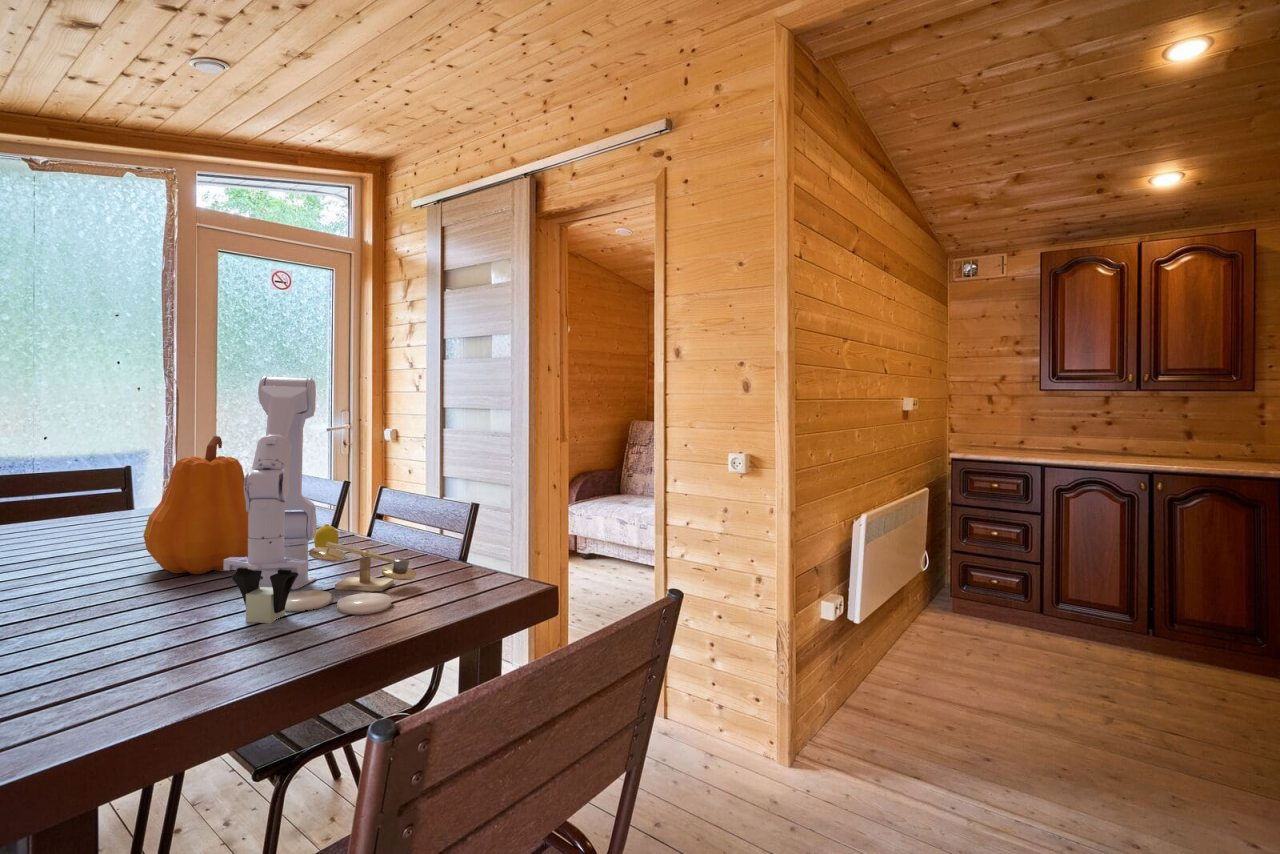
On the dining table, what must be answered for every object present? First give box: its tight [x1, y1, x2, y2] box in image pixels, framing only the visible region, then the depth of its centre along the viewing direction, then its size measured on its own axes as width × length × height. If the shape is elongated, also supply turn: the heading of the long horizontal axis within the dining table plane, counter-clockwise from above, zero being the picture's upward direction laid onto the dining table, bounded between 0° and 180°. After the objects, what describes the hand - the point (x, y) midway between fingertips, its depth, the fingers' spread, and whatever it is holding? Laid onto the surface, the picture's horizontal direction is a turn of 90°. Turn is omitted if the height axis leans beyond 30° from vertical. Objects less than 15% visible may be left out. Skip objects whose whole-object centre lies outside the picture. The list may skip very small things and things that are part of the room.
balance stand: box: [334, 556, 395, 592], centre depth 141 cm, size 10×6×6 cm, turn 88°
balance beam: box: [308, 542, 417, 581], centre depth 141 cm, size 23×7×3 cm, turn 88°
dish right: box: [336, 592, 392, 616], centre depth 128 cm, size 10×10×1 cm
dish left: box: [285, 589, 332, 612], centre depth 128 cm, size 10×10×1 cm
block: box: [245, 587, 286, 624], centre depth 119 cm, size 4×4×5 cm
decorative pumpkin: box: [143, 435, 248, 575], centre depth 151 cm, size 24×24×30 cm
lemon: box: [313, 523, 340, 549], centre depth 166 cm, size 6×6×8 cm
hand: (265, 610), depth 120 cm, fingers closed on block, 4 cm apart
